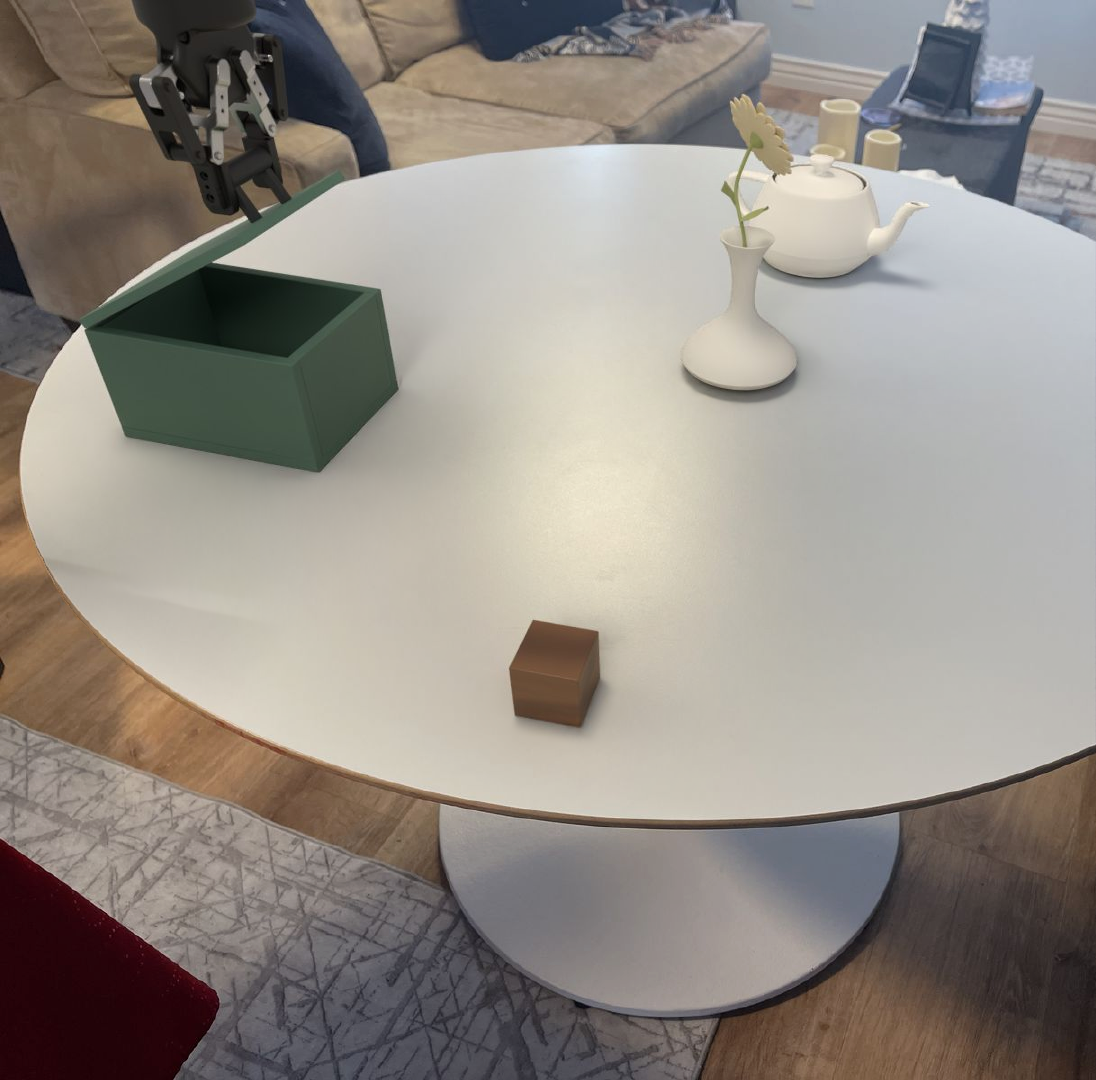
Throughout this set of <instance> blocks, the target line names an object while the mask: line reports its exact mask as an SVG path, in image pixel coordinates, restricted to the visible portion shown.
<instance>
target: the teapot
mask: <svg viewBox="0 0 1096 1080" xmlns="http://www.w3.org/2000/svg"><path fill="white" fill-rule="evenodd" d="M834 163H835V158H834V157H833V156H831V155H829V154H823V153H816V154H812V155H810V157H809V162H793V163H790V164H791V166H789V167H790V169H791V171H792V173H791V174H787V173H786V175H785V176H783V175H781V174H780V175H777V174H775V173H774V172H773V171H772V172H770V174H768V173H765V172H759V171H754V170H749V169H743V171H742V174H741V177H740V180H749V181H753V182H758V183H763V186H762V188H761V190H760V192H759V194H758V195H757V197H756V200H755V201H754V204H753V206H752V208H750V207H749V206H748V204H747V203H746V201H745V199H744V198H743V195H742V193H741V190H740V185H739V184H740V183H739V184H738V201H739V206H740V211H741V215H742V218H743V217H744V216H745V215H747V214H748V213H750V212H753V211H755V210H758V209H761V208H766V207H767V206H768V207H769V209H768V210H766V211H764V212H762V213H761V214H759V215H758V216H756V217H754V218H752V219H750V220H746V222H748V224H747V226H751V227H757V228H761V229H764V230H766V231H768V232H770V233H771V234H773V236H774V237H775V241H774V243H773V244H772V245H771V246H770V247H769V248H768V250H767V251H766V253H765V254H764V256H763V258H762V259H764V260H765V261H766V262H767V264H768V265H770V266H771V267H773V268H775V269H776V270H779V271H781V272H783V273H787V274H790V275H794V276H799V277H804V278H818V279H819V278H820V279H821V278H834V277H840V276H843V275H846V274H850V273H851V272H852V271H854V270H855V269H857V268H858V267H859V266H861V265H862V264H864V263H865V262H867V261H868V260H869V259H870V258H872V257H874V256H878V255H880V254H883V253H885V252H888V251H889V250H890V249H891V248H892V247H893V246H894V245H895V244H896V243H897V242H898V239H899V237H900V236H901V234H902V232H903V230H904V228H905V225H906V224H907V222H908V221H909V219H910V218H911V217H912V216H913V214H915V213H916V212H918V211H920V210H923V209H927V208H930V207H931V204H929V203H926V202H921V201H915V200H912V201H911V200H910V201H906V202H905V203H903V204H902V205H901V206H899V208H898V209H897V211H896V212H895V214H894V216H893V218H892V219H891V221H890V222H889V224H887V225H886V226H884V227H881V222H880V216H879V211H878V207H877V204H876V200H875V197H874V193H873V190H872V187H871V184H870V181H869V179H868V178H866V176H865V175H863V174H861V172H858V171H856V170H854V169H851V168H848V167H845V166H841V165H837V164H834ZM738 171H739V169H738V170H735V171H733V172H730V173H729V176H728V178H727V181H726V182H727V183H728V185H729V186H730V188H731V189H732V190H733V192H734V185H735V180H736V177H737V174H738ZM732 204H733V206H734V207H735V208H736V206H735V205H734V203H733V202H732Z"/></svg>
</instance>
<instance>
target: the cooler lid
mask: <svg viewBox="0 0 1096 1080" xmlns="http://www.w3.org/2000/svg"><path fill="white" fill-rule="evenodd" d="M226 162H227V164H228V167H229V171H230V175H231V178H232V182H233V186H234V189H235V193H236V197H237V200H238V204H239V210H241V211H242V213H243V214H244V215H245V217H246V220H244V221H242V222H240V223H239V224H236V225H235V226H233V227H231V228H229V229H227V230H225V231H223V232H222V233H220V234H218V235H216V236H213V238H211V239H209V240H207V241H205V242H203V243H201V244H199V245H198V246H196V247H194V248H192V249H190V250H188V251H187V252H186V253H184V254H181V256H178V257H177V258H176V259H174V260H172V261H171V262H169V263H168V264H166V265H164V266H163V267H161V268H159V269H158V270H156V271H155V272H153V273H152V274H150V275H148V276H147V277H145V278H143V279H142V280H140V281H139V282H137V283H135V284H134V285H132V286H131V287H129V288H127V289H125V290H123V291H122V292H121V293H119V294H118V295H116V296H115V297H112V298H111V299H109V300H108V301H106V302H105V303H103V304H102V305H100V306H98V307H97V308H95V309H93V310H92V311H89V313H87V314H85V315H83V316H81V317H80V318H79V319H78V320H77V321H78V322H79V324H80V325H81V326H82V327H83V328H84V330H85V329H87V328H88V327H90V326H92V325H94V324H96V323H97V322H99V321H101V320H103V319H105V318H107V317H109V316H111V315H113V314H115V313H117V312H118V311H120V310H122V309H124V308H126V307H128V306H130V305H132V304H134V303H136V302H137V301H139V300H141V299H143V298H145V297H147V296H149V295H151V294H153V293H155V292H156V291H158V290H160V289H162V288H164V287H166V286H168V285H170V284H172V283H174V282H176V281H177V280H179V279H181V278H183V277H185V276H187V275H189V274H191V273H193V272H195V271H196V270H198V269H200V268H202V267H204V266H206V265H208V264H210V263H215V262H216V261H218V260H220V259H222V258H223V257H225V256H227V255H229V254H230V253H232V252H234V251H236V250H238V249H240V248H242V247H244V246H245V245H247V244H248V243H250V242H252V241H253V240H255V239H256V238H258V237H259V236H261V235H263V234H265V232H267V231H269V230H270V229H271V228H273V227H275V226H277V225H278V224H280V223H281V222H282V221H284V220H285V219H287V218H288V217H290V216H292V215H293V214H294V213H296V212H297V211H299V210H300V209H303V208H304V207H305V206H307V205H308V204H310V203H312V201H315V200H316V199H317V198H319V197H321V196H322V195H323V194H325V193H327V192H328V191H330V190H331V189H333V188H334V187H335V186H337V185H339V184H341V182H343V181H345V180H346V178H345V176H344V174H343V173H342V171H341V170H340V169H339V170H336V171H334V172H332V173H331V174H329V175H327V176H325V177H323V178H321V179H320V180H317V181H315V182H314V183H312V184H311V185H309V186H307V187H305V188H303V189H301V190H299V191H297V192H296V193H294V194H292V195H290V193H289V192H288V190H287V189H286V188H285V186H284V184H283V185H282V183H281V182H280V181H279V179H278V178H277V176H276V175H275V173H274V172H273V170H272V169H271V166H272V158H271V156H270V154H269V153H268V151H267V150H266V149H264V148H262V147H260V146H255V147H253V148H251V149H249V150H247V151H245V150H244V151H243V152H241V153H240V154H237V155H236V156H234V157H232V158H230V159H228V160H227V161H226ZM258 175H261V176H262V177H263V179H264V180H265V182H266V183H267V185H268V186H269V187H270V191H271V192H272V193H273V195H274V196H275V197H276V199H277V201H278V202H277V203H275V204H273V205H271V206H270V207H268V208H266V209H264V210H263V211H259V210H258V209H257V207H256V206H255V204H254V203H253V201H252V200H251V199H250V197H249V196H248V195H247V193H246V192H245V190H244V189H243V188H242V186H243V185H244V184H246V183H248V182H250V181H252V179H253V178H255V177H256V176H258Z"/></svg>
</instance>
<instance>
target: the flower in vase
mask: <svg viewBox="0 0 1096 1080" xmlns="http://www.w3.org/2000/svg"><path fill="white" fill-rule="evenodd" d="M729 106H730V108H731V109H730V112H731V115H732V118H731V119H732V122H733V125H734V126H735V128H736V129H737V130H738V131H739V135H740V137H741V139H742V140H743V142H745V144H746V147H747V149H746V150H745V151H746V152H745V153H744V156H743V158H742V161H741V164H740V166H739V168H738V170H739V171H738V170H737V171H738V174H737V177H736V180H735V185H734V192H733V190H732V189H731V188H730V186H729V185H728V183H727V182H728V181H726V180H724V182H723V185H722V187H721V188H720V192H722V193H723V194H724V195H726V196H727V197H728V198H729V199H730V200H731V202H732V204H733V203H734V204H733V206H734V205H735V206H736V207H735V206H734V207H735V209H736V213H737V219H738V222H739V225H738V226H737V225H735V226H730V227H727V228H725V229H723V230H721V231H720V232H719V235H718V239H719V240H720V242H721V243H722V245H723V246H724V248H725V250H726V252H727V255H728V258H729V264H730V273H731V276H730V277H731V291H730V299H729V304H728V307H727V308H726V310H725V311H724V312H723V313H722V314H720V315H718V316H717V317H715V318H713V319H711V320H709V321H708V322H705V323H704V324H703V325H701V326H699V327H698V328H697V329H695V330H694V331H693V332H692V333H691V334H689V336H688V337H686V339H685V340H684V342H683V345H682V347H681V349H680V353H679V356H680V361H681V363H682V364H683V366H684V367H685V369H686V370H687V371H688V372H689V373H690V375H691V376H693V377H694V378H696V379H697V380H699V381H701V382H702V383H705V384H707V385H709V386H712V387H715V388H721V389H725V390H734V391H752V390H753V391H754V390H762V389H766V388H769V387H773V386H776V385H778V384H779V383H782V382H783V381H785V380H786V379H787V378H788V377H789V376H790V375H791V374H792V373H793V372H794V370H795V369H796V366H797V363H798V359H797V354H796V351H795V348H794V346H793V344H792V343H791V342H790V341H789V340H788V339H787V337H786V336H785V335H784V334H783V332H781V331H780V330H779V329H778V328H776V327H774V326H773V325H772V324H771V323H769V322H768V321H766V320H765V319H764V318H763V317H762V316H761V315H760V314H759V312H758V310H757V309H756V287H757V285H756V284H757V280H758V274H759V269H760V266H761V262H762V261H763V259H764V258H763V256H764V254H765V253H766V251H767V250H768V248H769V247H770V246H771V245H772V244H773V243H774V241H775V237H774V236H773V234H771V233H770V232H768V231H766V230H764V229H761V228H757V227H751V226H748V225H744V222H747V220H750V219H752V218H754V217H756V216H758V215H759V214H761V213H762V212H764V211H766V210H768V209H769V207H768V206H767V207H766V208H761V209H758V210H755V211H753V212H750V213H748V214H747V215H745V216H744V217H743V216H742V215H741V211H740V206H739V201H738V184H740V180H741V179H740V177H741V174H742V171H743V170H745V169H744V168H745V166H746V163H747V162H748V158H749V156H750V154H751V152H753V154H754V156H755V157H756V159H757V160H758V161H759V162H762V164H763V166H765V168H767V169H768V170H769V171H772V172H774V173H775V174H777V175H780V174H781V175H783V176H785V175H786V173H787V174H791V173H792V171H791V169H790V167H789V166H791V164H792V162H793V163H794V161H795V159H794V156H793V155H792V153H790V150H791V149H790V146H789V143H787V142H785V140H783V139H785V137H786V132H785V130H784V128H783V127H781V126H779V125H776V124H775V120H774V119H773V117H772V116H770V115H767V109H766V107H765V105H764V104H763V102H761V101H759V102H757V104H756V108H755V105H754V104H753V101H752V99H751V97H749V95H746V94H745V93H742V94H741V97H740V98H739V99H738V98H737V97H736V96H734V97H733V101H732V100H729Z"/></svg>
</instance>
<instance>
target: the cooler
mask: <svg viewBox="0 0 1096 1080" xmlns="http://www.w3.org/2000/svg"><path fill="white" fill-rule="evenodd" d="M83 331H84V334H85V336H86V339H87V342H88V344H89V346H90V349H91V351H92V354H93V357H94V359H95V361H96V365H97V367H98V369H99V372H100V375H101V377H102V379H103V382H104V385H105V387H106V390H107V393H108V395H109V398H110V400H111V403H112V405H113V408H114V410H115V413H116V416H117V418H118V421H119V423H120V426H121V429H122V431H123V434H124V436H125V437H128V438H134V439H139V440H145V441H149V442H155V443H159V444H160V443H161V444H165V445H170V446H176V447H181V448H186V449H193V450H197V451H203V452H209V453H213V454H217V455H223V456H230V457H235V458H240V459H245V460H251V461H256V462H262V463H266V464H272V465H277V466H283V467H287V468H294V469H298V470H299V469H300V470H304V471H309V472H314V473H320V472H321V471H322V470H323V469H324V467H325V466H327V465H328V463H329V462H330V461H331V460H332V459H333V458H334V457H335V456H336V455H337V454H338V453H339V452H340V450H342V448H344V446H345V445H346V444H348V443H349V441H350V440H351V439H352V438H354V436H355V435H356V434H357V432H359V431H360V429H361V428H362V427H363V426H365V425H366V423H368V422H369V420H370V419H371V418H372V417H373V416H374V415H375V414H376V413H377V412H378V411H379V410H380V409H381V408H382V407H383V406H384V404H385V403H386V402H388V400H389V399H390V398H391V397H392V396H393V395H394V394H395V393H396V392H397V391H398V390H399V384H398V379H397V378H398V377H397V373H396V367H395V362H394V356H393V351H392V346H391V339H390V334H389V329H388V323H387V317H386V311H385V306H384V299H383V295H382V289H381V288H377V287H370V286H365V285H364V286H363V285H358V284H351V283H346V282H345V283H344V282H339V281H338V282H337V281H332V280H326V279H320V278H313V277H308V276H300V275H294V274H290V273H289V274H288V273H281V272H276V271H270V270H269V271H268V270H262V269H257V268H256V269H255V268H251V267H243V266H238V265H230V264H225V263H220V262H219V263H218V262H212V263H210V264H208V265H206V266H204V267H202V268H200V269H198V270H196V271H195V272H193V273H191V274H189V275H187V276H185V277H183V278H181V279H179V280H177V281H176V282H174V283H172V284H170V285H168V286H166V287H164V288H162V289H160V290H158V291H156V292H155V293H153V294H151V295H149V296H147V297H145V298H143V299H141V300H139V301H137V302H136V303H134V304H132V305H130V306H128V307H126V308H124V309H122V310H120V311H118V312H117V313H115V314H113V315H111V316H109V317H107V318H105V319H103V320H101V321H99V322H97V323H96V324H94V325H92V326H90V327H88V328H86V329H85V328H84V330H83Z"/></svg>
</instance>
